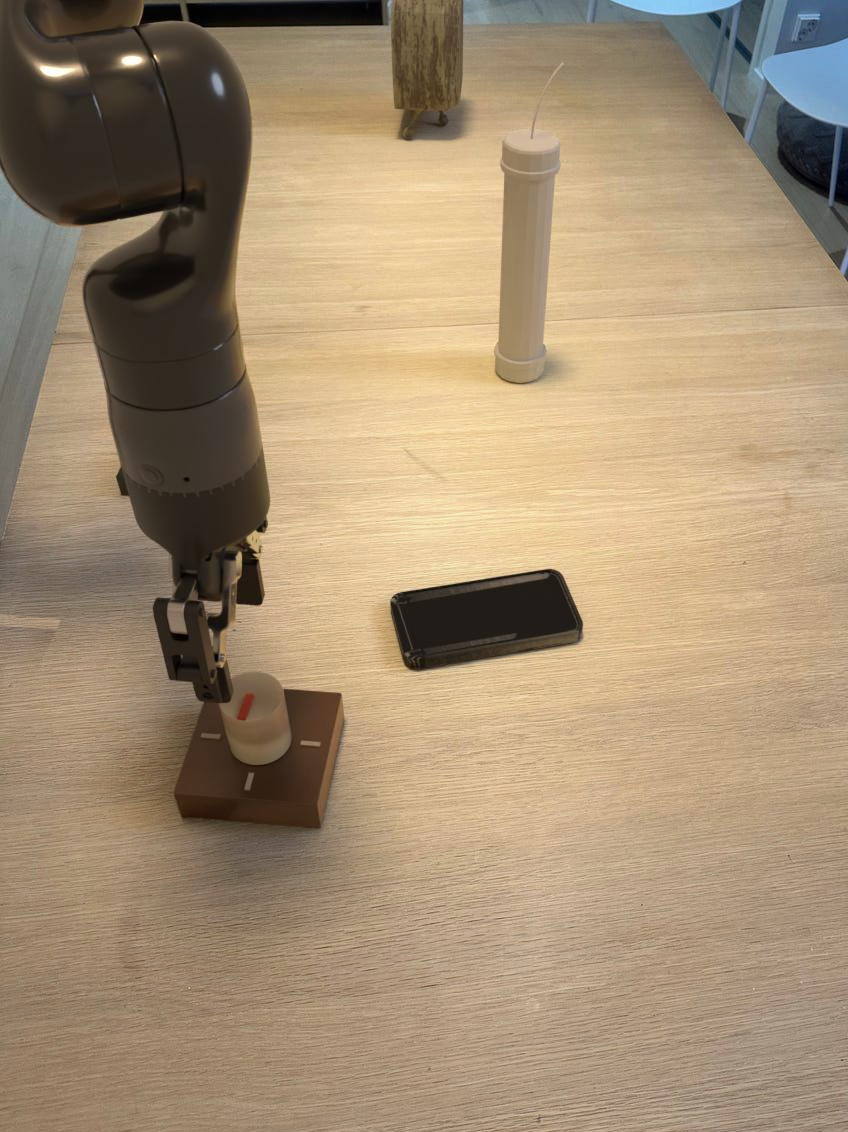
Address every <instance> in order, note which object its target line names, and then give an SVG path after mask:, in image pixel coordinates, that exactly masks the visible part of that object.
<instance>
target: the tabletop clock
mask: <svg viewBox="0 0 848 1132" xmlns="http://www.w3.org/2000/svg"><path fill="white" fill-rule="evenodd" d="M390 37H391V39H390V40H391V41H390V42H391V69H392V71H391V72H392V90H393V91H392V93H393V106H394V109H395V110H412V113H411V117H410V119H409V124H408V126H405V127H404V128H403V129H402V135H403V137H404V138H405V139H407V140H409V139H411V138H413V137H414V135H415V131H414V128H413V127H414V125H415V124H416V121H417V120H418V117H419V115H420V114H421V113H423V111H436V112H437V111H438V113H439V115H438V116H437V122H438V124H439V125H440V126H442V127H444V126H446V125H448V124H449V116H448V115H447V114H445V113H444V112H446V111H448V110H451V109H452V108H454V107H457V106H458V105H459V104H460V102H461V95H462V88H463V87H462V85H463V76H464V75H463V71H464V0H391V8H390Z"/></svg>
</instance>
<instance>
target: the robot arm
mask: <svg viewBox="0 0 848 1132" xmlns="http://www.w3.org/2000/svg"><path fill="white" fill-rule="evenodd" d="M144 7H145V0H0V173H1V174H2V176H3V178H4V180H5V182H6V184H7V185H8V186H9V188H10V190H11V191H12V193H13V194H14V195H15V196H16V197H17V199H19V200H20V202H21V203H22V204H23V205H24V206H25V207H27V208H28V209H29V210H30V211H32V212H33V213H34V214H35V215H36V216H39V217H41V218H42V219H44V220H46V221H47V222H50V223H52V224H54V225H57V226H60V227H67V228H83V227H84V228H85V227H90V226H96V225H102V224H106V223H111V222H115V221H118V220H119V221H120V220H121V221H122V220H126V219H131V218H135V217H141V216H146V215H152V214H156V213H161V212H162V213H161V215H160V217H159V219H158V220H157V221H156V223H154V224H153V225H152V226H151V227H150V228H149V229H147V230H146V231H144V232H143V233H141V234H140V235H138V236H136V237H133V238H132V239H130V240H128V241H126V242H124V243H123V244H119V245H118V246H116V247H114V248H112V249H111V250H109V251H107V252H105V253H103V255H101V256H100V257H99V258H97V259H96V260H95V261H93V263H92V264H90V267H89V268H88V269H87V271H86V272H85V273H84V276H83V278H82V279H83V280H82V284H81V298H82V305H83V310H84V315H85V318H86V322H87V326H88V329H89V333H90V336H91V340H92V343H93V347H94V350H95V355H96V358H97V362H98V365H99V369H100V372H101V373H100V374H101V376H102V380H103V385H104V390H105V397H106V407H107V416H108V422H109V427H110V431H111V434H112V438H113V442H114V445H115V448H116V452H117V456H118V460H119V464H120V467H121V468H122V471H123V475H124V479H125V482H126V486H127V490H128V493H129V495H128V497H129V500H130V504H131V509H132V511H133V516H134V519H135V521H136V524H137V526H138V527H139V529H140V530H141V532H142V533H143V534H144V535H145V536H146V537H148V539H150V540H151V541H152V542H154V543H156V544H157V545H158V546H160V547H161V548H162V549H164V550H165V551H166V552H167V553H168V574H169V576H170V577H171V579H172V589H171V597H162V596H161V597H160V596H157V597H155V599H154V601H153V605H152V615H153V619H154V622H155V627H156V632H157V635H158V640H159V644H160V648H161V653H162V656H163V660H164V665H165V668H166V673H167V677H168V680H169V681H173V682H185V683H191V684H192V687H193V691H194V694H195V697H196V699H197V701H198V702H200V703H201V702H202V703H203V702H212V703H229V702H230V701H231V698H232V695H233V692H234V690H233V685H232V681H231V679H232V676H231V672H230V666H229V663H228V658H227V631H228V629H230V628H231V627H233V626H234V624H235V623H236V617H237V615H236V613H237V605H242V606H243V605H244V606H256V607H258V606H261V605H263V602H264V599H265V596H266V593H265V587H264V580H263V575H262V569H261V563H260V559H261V557H262V554H263V552H264V546H263V542H262V540H261V534H265V533H266V532H267V529H268V526H269V520H268V514H269V510H270V506H271V493H270V486H269V485H270V484H269V479H268V471H267V466H266V465H267V464H266V460H265V459H266V458H265V453H264V445H263V439H262V431H261V425H260V419H259V411H258V406H257V401H256V395H255V392H254V389H253V385H252V382H251V380H250V376H249V373H248V369H247V368H248V367H247V364H246V358H245V357H246V356H245V351H244V344H243V338H242V337H243V336H242V331H241V324H240V318H239V317H240V316H239V312H238V304H237V295H236V292H237V291H236V290H237V289H236V288H237V286H236V285H237V273H238V271H237V270H238V259H239V249H240V239H241V234H242V233H241V231H242V224H243V219H244V212H245V206H246V201H247V194H248V189H249V183H250V178H251V177H250V175H251V169H252V159H253V158H252V157H253V145H254V143H253V142H254V141H253V140H254V129H253V127H254V126H253V117H252V107H251V102H250V96H249V93H248V90H247V86H246V84H245V81H244V78H243V76H242V73H241V71H240V68H239V67H238V66H237V63H236V62H235V60H234V58H233V56H232V55H231V54H230V52H229V51H228V49H227V47H225V46H224V44H222V43H221V41H220V40H219V39H218V38H217V37H216V36H215V35H214V34H213V33H212V32H210V31H209V30H207V29H206V28H205V27H202V26H201V25H198V24H196V23H193V22H190V21H182V20H181V21H180V20H167V21H166V20H165V21H158V22H157V21H156V22H149V23H144V24H140V22H141V19H142V17H143V14H144ZM204 602H210V603H211V602H213V603H219V602H221V609H220V612H218V613H217V612H210V611H208V610H206V608H205V603H204ZM210 630H211V632H212V640H211V634H210Z"/></svg>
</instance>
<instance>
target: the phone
mask: <svg viewBox="0 0 848 1132" xmlns="http://www.w3.org/2000/svg"><path fill="white" fill-rule="evenodd" d="M389 605H390V606H389V607H390V615H391V620H392V623H393V627H394V631H395V634H396V639H397V642H398V645H399V650H400V652H401V656H402V661H403V663H404V664H405V666H407V667H408V668H411V669H415V670H418V669H419V670H420V669H425V668H431V667H437V666H444V665H450V664H454V663H463V662H467V661H473V660H477V659H478V660H479V659H484V658H490V657H495V656H496V657H497V656H501V655H502V656H503V655H508V654H513V653H519V652H526V651H530V650H538V649H543V648H549V647H554V646H561V645H567V644H572V643H575V642H577V641H579V640H580V639H581V638H582V635H583V629H584V621H583V619H582V617H581V614H580V612H579V609H578V607H577V605H576V603H575V600H574V598H573V595H572V593H571V591H570V588H569V585H568V584H567V581H566V579H565V577H564V575H563V574H562V573H561V572H560V571H559V570H557V569H553V568H544V569H537V570H533V571H525V572H520V573H514V574H505V575H501V576H499V575H498V576H494V577H488V578H487V577H486V578H482V579H475V580H469V581H468V580H467V581H462V582H455V583H450V584H444V585H443V584H442V585H437V586H431V587H423V588H417V589H412V590H404V591H401V592H397V593H395V594H393V595H392V596H391V597H390V600H389Z"/></svg>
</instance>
